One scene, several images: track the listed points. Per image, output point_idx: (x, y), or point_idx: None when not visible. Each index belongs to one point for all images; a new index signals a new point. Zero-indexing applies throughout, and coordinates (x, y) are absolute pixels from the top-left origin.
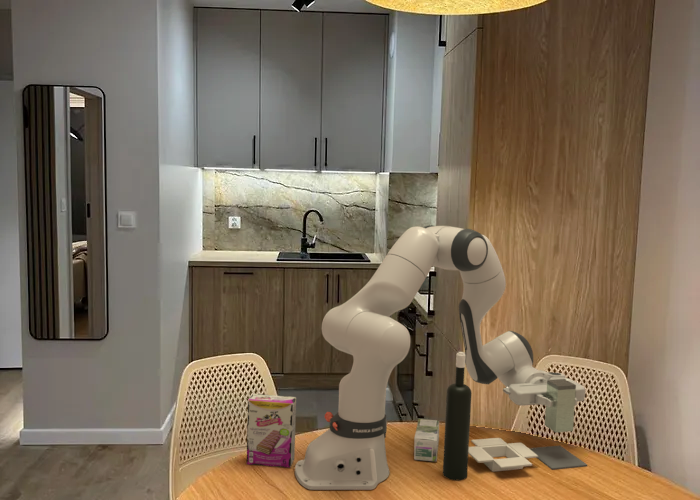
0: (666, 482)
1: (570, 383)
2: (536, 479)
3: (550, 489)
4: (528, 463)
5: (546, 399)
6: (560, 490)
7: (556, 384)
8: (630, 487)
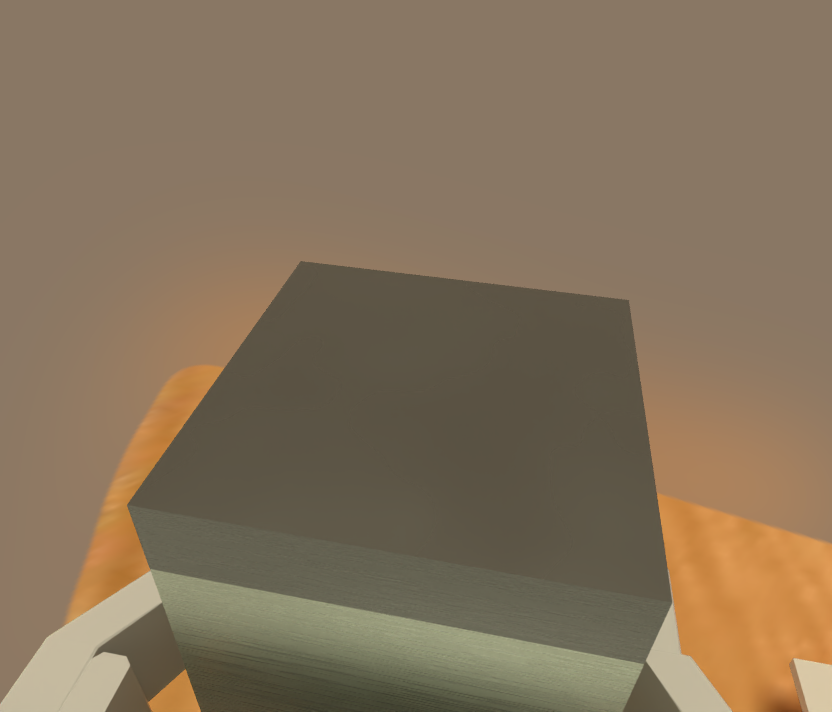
0: (148, 422)
1: (311, 312)
2: (745, 653)
3: (710, 546)
4: (819, 675)
5: (675, 644)
6: (663, 523)
7: (606, 353)
8: None
